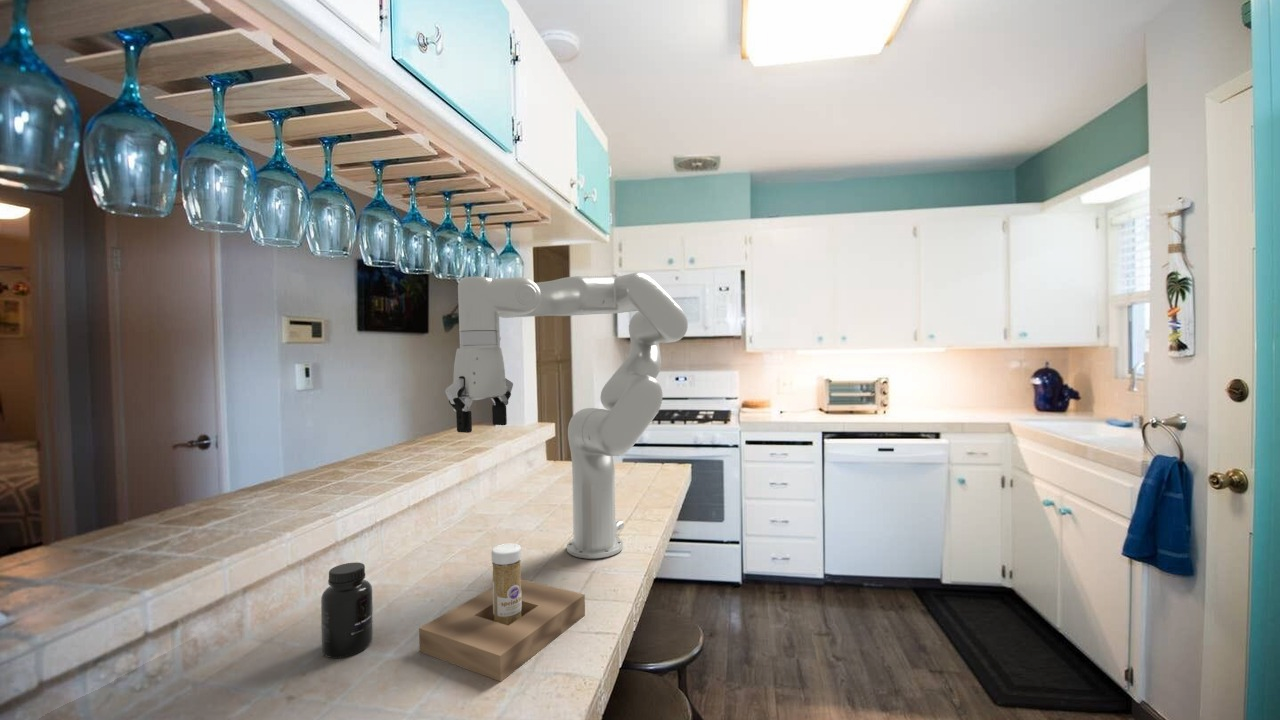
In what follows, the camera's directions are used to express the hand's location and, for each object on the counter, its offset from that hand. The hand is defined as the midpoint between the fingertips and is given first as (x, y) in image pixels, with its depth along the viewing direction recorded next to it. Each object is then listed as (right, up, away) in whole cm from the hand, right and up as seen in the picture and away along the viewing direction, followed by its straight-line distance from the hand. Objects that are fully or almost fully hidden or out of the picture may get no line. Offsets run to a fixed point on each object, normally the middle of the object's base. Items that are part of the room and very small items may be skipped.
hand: (482, 428), depth 103 cm
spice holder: (+10, -30, -20) cm, 37 cm away
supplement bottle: (-14, -30, -23) cm, 40 cm away
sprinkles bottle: (+10, -30, -19) cm, 37 cm away
